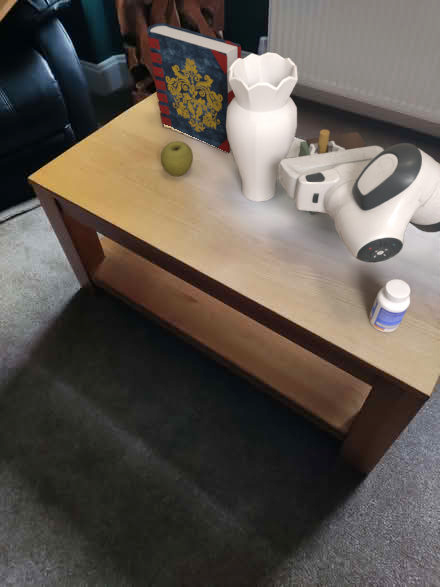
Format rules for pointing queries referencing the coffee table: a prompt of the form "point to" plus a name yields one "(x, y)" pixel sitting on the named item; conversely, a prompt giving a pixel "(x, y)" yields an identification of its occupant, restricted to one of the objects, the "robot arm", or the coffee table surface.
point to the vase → (261, 120)
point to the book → (193, 81)
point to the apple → (176, 158)
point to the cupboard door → (322, 143)
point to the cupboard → (343, 141)
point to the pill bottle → (390, 306)
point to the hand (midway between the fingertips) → (320, 145)
